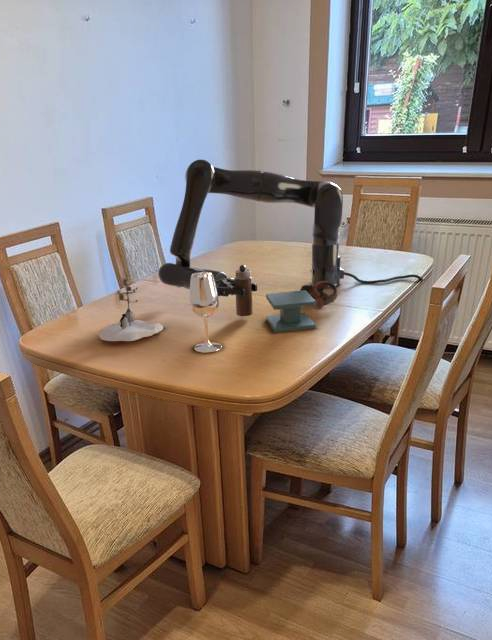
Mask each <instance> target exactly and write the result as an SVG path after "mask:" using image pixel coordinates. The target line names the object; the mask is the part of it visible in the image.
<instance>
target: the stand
mask: <svg viewBox="0 0 492 640" xmlns="http://www.w3.org/2000/svg"><path fill="white" fill-rule="evenodd" d="M265 298H266V300H267V301H268V303H269V304H270V306H271V307H272V308H273V310H274V311H277V310H279V314H275V315H266V321H267V324H268V325H269V326H270V328H271V329H272V331H273V332H274V333H275V334H277V333H279V334H280V333H287V332H288V333H289V332H297V331H306V330H316V323H315V322H314V321H313V320H312V319H311V317H310V316H309V315H308V314H307V312H306V311H304V312H301V311H302V308H304V307H314V306H315V307H316V304H317V300H316V299H315V300H314V299H313V298H312V297H311V296H310V295H309V294H308V292H307V291H306V290H301V291H300V290H293V291H292V290H291V291H283V292H272V293H265Z"/></svg>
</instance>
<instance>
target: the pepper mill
mask: <svg viewBox="0 0 492 640" xmlns="http://www.w3.org/2000/svg"><path fill="white" fill-rule="evenodd" d="M234 279H235V287H239V288H244V289H245V296H239V295H235V311H236V312H235V313H236V314H235V315H237V316H238V317H249V316H252V315H253V313H254V312H253V291H252V283H253V282H252V276H251V270H250V269H247V266H246V265H244V264H240V266H239V268H238V269H237V270H235V277H234Z"/></svg>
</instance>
